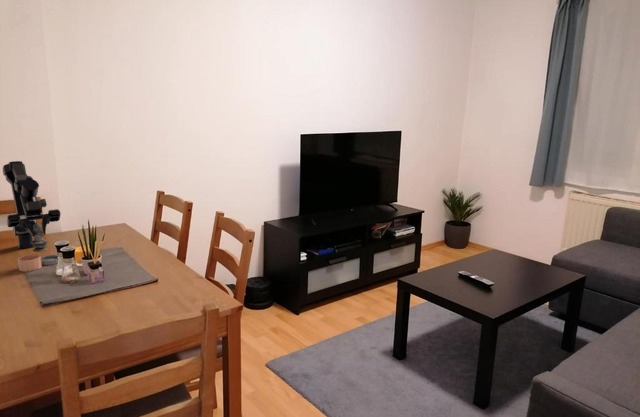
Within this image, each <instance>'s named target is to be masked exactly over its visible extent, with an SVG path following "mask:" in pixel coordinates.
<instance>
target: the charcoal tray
mask: <svg viewBox="0 0 640 417" xmlns="http://www.w3.org/2000/svg"><path fill="white" fill-rule="evenodd" d="M57 257H58V254H51V255H50V254H48V255H44V256H41V264H42V266H49V265H50V266H51V265H52V266H53V265H55V264H58V263H57V261H58V258H57Z"/></svg>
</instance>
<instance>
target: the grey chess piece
mask: <svg viewBox="0 0 640 417" xmlns="http://www.w3.org/2000/svg"><path fill="white" fill-rule="evenodd" d="M35 223H36V224H35V225H34V226H33V228H34V236H33V241H32V242H31V243H32V245H33V247H32V248H33V249H32V252H36V253H38V252H44V251H47V250H48V247H46V246H47V242H48V239H45V238H44V234H43V230H42V223H41V224H40V223H39V222H38V221H35Z"/></svg>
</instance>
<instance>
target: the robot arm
mask: <svg viewBox="0 0 640 417" xmlns="http://www.w3.org/2000/svg"><path fill="white" fill-rule="evenodd" d="M26 169H27V168H26V164H25V163H23V161H22V160H19V161H18V160H16V161H15V160H14V161H13V160H12V161H9V162H8V163H6V164H4V165H2V173H3V174H2V175H3V176H5V181H7V183H9V184H10V186H11V191H12V197H13V202H14V207H15V210H16V211H15V212H16V213H14V214H8V215H7V216H6V224H7V227H8V228H12V233H13V235H14V236H15V237H17V239H18V244H17V248H18V249H19V250H21V249H28V248H34V247H33V245H32V243H31V242H32V241H34V228H33V226H34V225H35V224H36V221H38V220H41V227H42V232H43V233H42V234H43V236H44V235H46V230H47V229H46V228H47V225H49V224H50V222H51V223H53V222H54V223H55V222H59V221H60V218H61V214H62V213H61V211H60V210H59V209H58V208H57V209H56V208H55V209H49V210H47V211H48V213H43V208H46V207H47V206H48V204H47V201H46V198H40V199H39V200H38V198H37V197H38V192H39V191H38V190H39V187H40V184H39V182H38V181H37V180H35V179H34V178H33V177H32V176H30V175H28V174H27V170H26Z"/></svg>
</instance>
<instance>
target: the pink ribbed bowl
mask: <svg viewBox="0 0 640 417" xmlns="http://www.w3.org/2000/svg"><path fill="white" fill-rule="evenodd" d="M41 257H42V256H41V255H40V254H26V255H22V256H20V257H18V258H17V262H18V263H17V265H18V271H20V272H32V271H31V270H34V271H37V270H40V269H41V268H42V267H43V265H42V264H41ZM36 269H37V270H36Z"/></svg>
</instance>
